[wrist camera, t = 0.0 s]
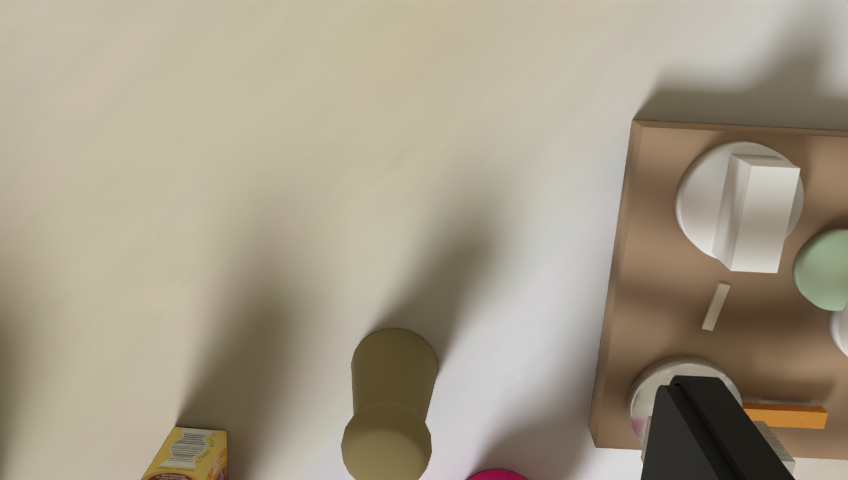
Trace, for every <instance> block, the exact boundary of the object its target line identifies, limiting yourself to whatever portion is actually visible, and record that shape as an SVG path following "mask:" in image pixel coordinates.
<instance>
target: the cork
mask: <svg viewBox="0 0 848 480" xmlns="http://www.w3.org/2000/svg"><path fill="white" fill-rule="evenodd" d="M351 369H352V390H353V411H354V416H353V417H352V419H351V420H350V422H349V423H348V425H347V426H346V427H345V431H344V435H343V439H342V444H341V448H342V456H343V461H344V464H345V466H346V468H347V470H348V472H349V474H351V475H352V476H353V477H354V478H355V479H356V480H418V479H419V478H420V477H421V475H422V474H423V473H424V471H425V470H426V468H427V466H428V463H429V460H430V457H431V453H432V446H431V434H430V432H429V430H428V428H427V426H426V423H425V420H426V416H427V412H428V408H429V404H430V400H431V396H432V392H433V388H434V384H435V380H436V376H437V372H438V366H437V358H436V356H435V353H434V351H433V349H432V347H431V346H430V345H429V344H428V343H427V342H426V341H425V340H424V338H422V337H420V336H419V335H417V334H415V333H413V332H412V331H408V330H403V329H399V328H393V329H383V330H380V331H377V332H375V333H372V334H370V335H369V336H368V337H366V338H365V339H364V340H362V341H361V342H360V344H359V345H358V347H357V348H356V350H355V351H354V355H353V359H352V363H351Z"/></svg>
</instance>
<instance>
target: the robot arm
mask: <svg viewBox="0 0 848 480" xmlns="http://www.w3.org/2000/svg"><path fill="white" fill-rule="evenodd" d="M641 480H795V479H794V477H793V476H792V475H791V473H790V472H789V471H788V469H787V468H786V467H785V465H784V464H783V462H782V461H781V460H780V458H779V457H778V456H777V454H776V453H775V452H774V450H773V449H772V447H771V446H770V445H769V443H768V442H767V441H766V439H765V438H764V437H763V435H762V434H761V433H760V431H759V430H758V428H757V427H756V426H755V424H754V423H753V422H752V420H751V419H750V418H749V416H748V415H747V413H746V412H745V411H744V409H743V408H742V407H741V405H740V404H739V403H738V401H737V400H736V398H735V397H734V396H733V394H732V393H731V392H730V390H729V389H728V388H727V386H726V385H725V383H724V382H723V381H722V380H721V379H720V378H719V377H707V376H687V375H675V376H674V377H673V378H672V380H671V382H670V384H669V385H660V386H659V387H658V389H657V391H656V395H655V401H654V406H653V412H652V418H651V424H650V429H649V435H648V441H647V446H646V452H645V458H644V464H643V469H642V475H641Z"/></svg>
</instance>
